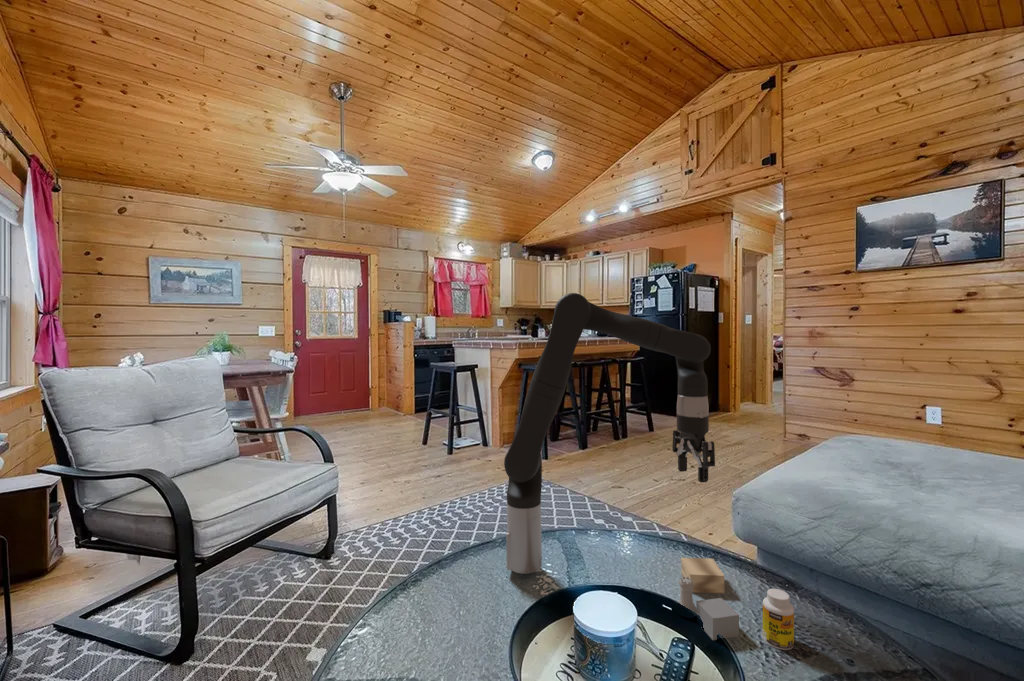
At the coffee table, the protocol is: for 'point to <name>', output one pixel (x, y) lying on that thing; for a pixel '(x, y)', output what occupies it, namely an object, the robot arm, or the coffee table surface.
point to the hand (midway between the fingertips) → (692, 476)
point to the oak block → (703, 575)
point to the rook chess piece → (686, 593)
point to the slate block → (718, 618)
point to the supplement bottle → (778, 620)
